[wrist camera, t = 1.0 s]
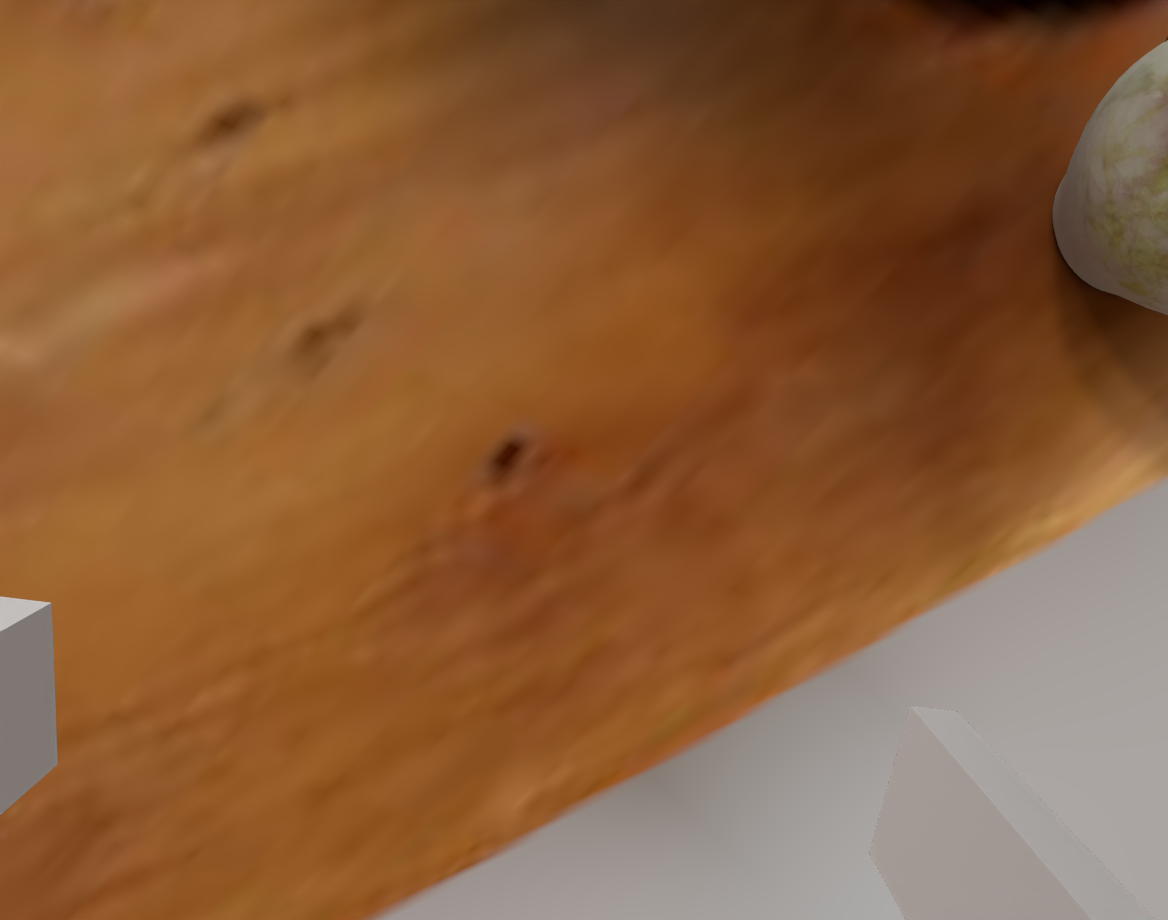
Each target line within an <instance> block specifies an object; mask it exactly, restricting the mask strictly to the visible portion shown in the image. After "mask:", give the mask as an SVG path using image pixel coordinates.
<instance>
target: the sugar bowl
mask: <svg viewBox="0 0 1168 920" xmlns="http://www.w3.org/2000/svg"><path fill="white" fill-rule="evenodd" d="M1052 217H1053V227H1054V232H1055V236H1056V240H1057V244H1058V247H1059V249H1060V251H1061V254H1062V256H1063V257H1064V259H1065V261H1066V262H1067V264H1068V265H1069V266H1070V267H1071V269H1072V270H1073V271H1074V272H1075V273H1076V274H1077V275H1078V276H1079V277H1080V278H1081V279H1082V280H1083V281H1085V282H1086V283H1088V284H1089V285H1091V286H1092V287H1094V288H1096V289H1099V290H1101V291H1105V292H1108V293H1111V294H1114V295H1118V296H1120V297H1122V298H1124V299H1127V300H1129V301H1131V302H1134V303H1136V304H1138V305H1141V306H1143V307H1146V308H1148V309H1151V310H1154V311H1157V312H1160V313H1162V314H1165V315H1168V37H1167V39H1166V40H1165V42H1164V43H1162V44H1160V45H1159V46H1157V47H1156V48H1154V49H1153V50H1152V51H1150V52H1149V53H1147V54H1146V55H1145V56H1143V57H1142V58H1141V59H1139V60H1138V61H1137V62H1136V63H1134V64H1133V65H1132V66H1131V67H1130V68H1129V69H1128V70H1127V71H1126V72H1125V73H1124V74H1123V75H1122V76H1121V77H1120V78H1119V79H1118V80H1117V81H1116V82H1115V84H1114V85H1113V86H1112V87H1111V89H1110V90H1109V91H1108V92H1107V94H1106V95H1105V96H1104V98H1103V99H1102V100H1101V102H1100V103H1099V104H1098V106H1097V107H1096V109H1095V110H1094V112H1093V114H1092V115H1091V117H1090V119H1089V120H1088V122H1087V124H1086V126H1085V128H1084V130H1083V133H1082V135H1081V137H1080V139H1079V141H1078V144H1077V146H1076V148H1075V150H1074V152H1073V155H1072V158H1071V160H1070V163H1069V166H1068V169H1067V171H1066V174H1065V176H1064V177H1063V179H1062V181H1061V183H1060V184H1059V187H1058V190H1057V192H1056V195H1055V199H1054V203H1053V212H1052Z"/></svg>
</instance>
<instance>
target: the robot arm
mask: <svg viewBox="0 0 1168 920" xmlns="http://www.w3.org/2000/svg"><path fill="white" fill-rule="evenodd" d="M56 765H57V739H56V713H55V687H54V660H53V634H52V607H51V603H49V602H40V601H32V600H24V599H15V598H7V597H0V815H1V814H2V813H3V812H4V811H5V810H6V809H7V808H9V807H10V806H11V805H12V804H13V803H14V802H15V801H17V800H18V799H19V798H20V797H21V796H22V795H23V794H24V793H26V792H27V791H28V790H29V789H30V788H31V787H32V786H33V785H35V784H36V783H37V782H38V781H39V780H40V779H41V778H43V777H44V776H45V775H46V774H47V773H48V772H49V771H50V770H52V769H53V768H54V767H55V766H56ZM869 853H870V855H871V857H872V859H873V861H874V863H875V864H876V866H877V868H878V870H879V872H880V874H881V875H882V877H883V879H884V881H885V883H886V885H887V887H888V888H889V890H890V892H891V894H892V896H893V898H894V899H895V901H896V903H897V905H898V907H899V909H900V911H901V912H902V914H903V916H904V918H905V919H906V920H1156V919H1155V918H1154V917H1152V915H1151V914H1150V913H1149V912H1148V911H1147V910H1146V909H1145V908H1144V907H1143V906H1142V905H1141V904H1140V903H1139V902H1138V901H1137V900H1136V899H1135V897H1133V895H1132V894H1131V893H1130V892H1129V891H1128V890H1127V889H1126V888H1125V887H1124V886H1123V885H1122V884H1121V883H1120V882H1119V881H1118V880H1117V879H1116V878H1115V877H1114V875H1113V874H1112V873H1111V872H1110V871H1109V870H1108V869H1107V868H1106V867H1105V866H1104V865H1103V864H1102V863H1101V862H1100V861H1099V860H1098V859H1097V858H1096V857H1095V855H1093V853H1092V852H1091V851H1090V850H1089V849H1088V848H1087V847H1086V846H1085V845H1084V844H1083V843H1082V842H1081V841H1080V840H1079V839H1078V838H1077V837H1076V836H1075V835H1074V834H1073V833H1072V831H1071V830H1070V829H1069V828H1068V827H1067V826H1066V825H1065V824H1064V823H1063V822H1062V821H1061V820H1060V819H1059V818H1058V817H1057V816H1056V815H1055V814H1054V812H1053V811H1052V810H1051V809H1050V808H1049V807H1048V806H1047V805H1046V804H1045V803H1044V802H1043V801H1042V800H1041V799H1040V798H1039V797H1038V796H1037V795H1036V794H1035V793H1034V792H1033V791H1032V789H1031V788H1030V787H1029V786H1028V785H1027V784H1026V783H1025V782H1024V781H1023V780H1022V779H1021V778H1020V777H1019V776H1018V775H1017V774H1016V773H1015V772H1014V771H1013V770H1012V768H1010V766H1009V765H1008V764H1007V763H1006V762H1005V761H1003V759H1002V758H1001V757H1000V756H999V755H998V754H997V753H996V752H995V751H994V750H993V749H992V747H991V746H990V745H989V744H988V743H987V742H986V741H985V740H984V739H983V738H982V737H981V736H980V735H979V734H978V733H977V732H976V731H975V730H974V729H973V728H972V727H971V725H969V723H968V722H967V721H966V720H965V719H964V718H963V717H962V716H961V715H960V714H959V713H958V712H957V711H949V710H941V709H933V708H924V707H916V706H910V708H909V712H908V715H907V719H906V722H905V726H904V730H903V733H902V737H901V740H900V744H899V747H898V751H897V755H896V758H895V762H894V765H893V769H892V772H891V776H890V780H889V783H888V787H887V790H886V794H885V797H884V801H883V805H882V808H881V812H880V815H879V819H878V822H877V826H876V830H875V833H874V837H873V840H872V844H871V847H870V851H869Z"/></svg>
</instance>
